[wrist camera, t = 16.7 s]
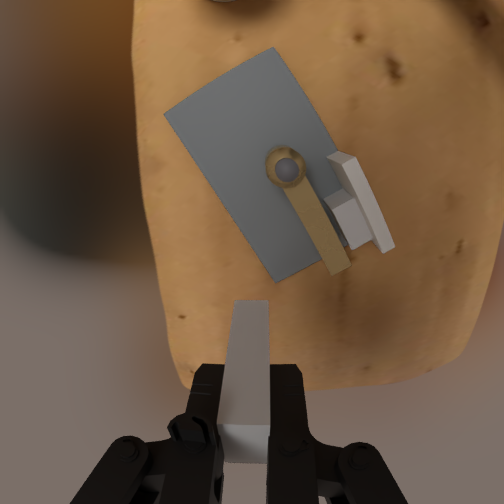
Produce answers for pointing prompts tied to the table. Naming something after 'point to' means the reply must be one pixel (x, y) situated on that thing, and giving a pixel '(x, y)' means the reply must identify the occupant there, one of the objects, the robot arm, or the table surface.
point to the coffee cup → (223, 0)
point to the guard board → (243, 148)
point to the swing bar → (308, 209)
